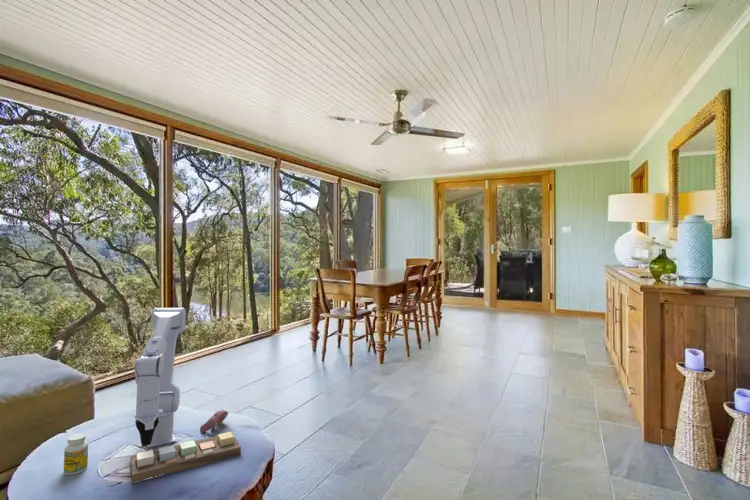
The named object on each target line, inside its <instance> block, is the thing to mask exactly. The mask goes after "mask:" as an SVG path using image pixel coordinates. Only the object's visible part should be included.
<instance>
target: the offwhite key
mask: <svg viewBox="0 0 750 500" xmlns="http://www.w3.org/2000/svg"><path fill="white" fill-rule="evenodd" d="M153 451H154V450H153V449H151V450H146V451H141V452H137V453H136V455H137V460H136V464H137V468H138V467H142V466H146V465H150V464H154V454H153Z"/></svg>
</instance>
